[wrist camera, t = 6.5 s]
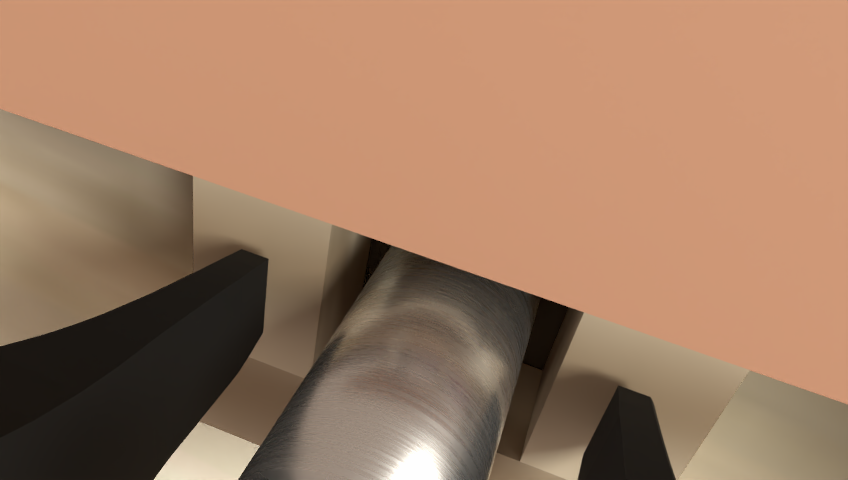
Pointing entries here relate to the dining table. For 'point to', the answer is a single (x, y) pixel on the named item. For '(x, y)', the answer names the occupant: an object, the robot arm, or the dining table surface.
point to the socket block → (535, 389)
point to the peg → (406, 381)
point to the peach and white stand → (505, 142)
